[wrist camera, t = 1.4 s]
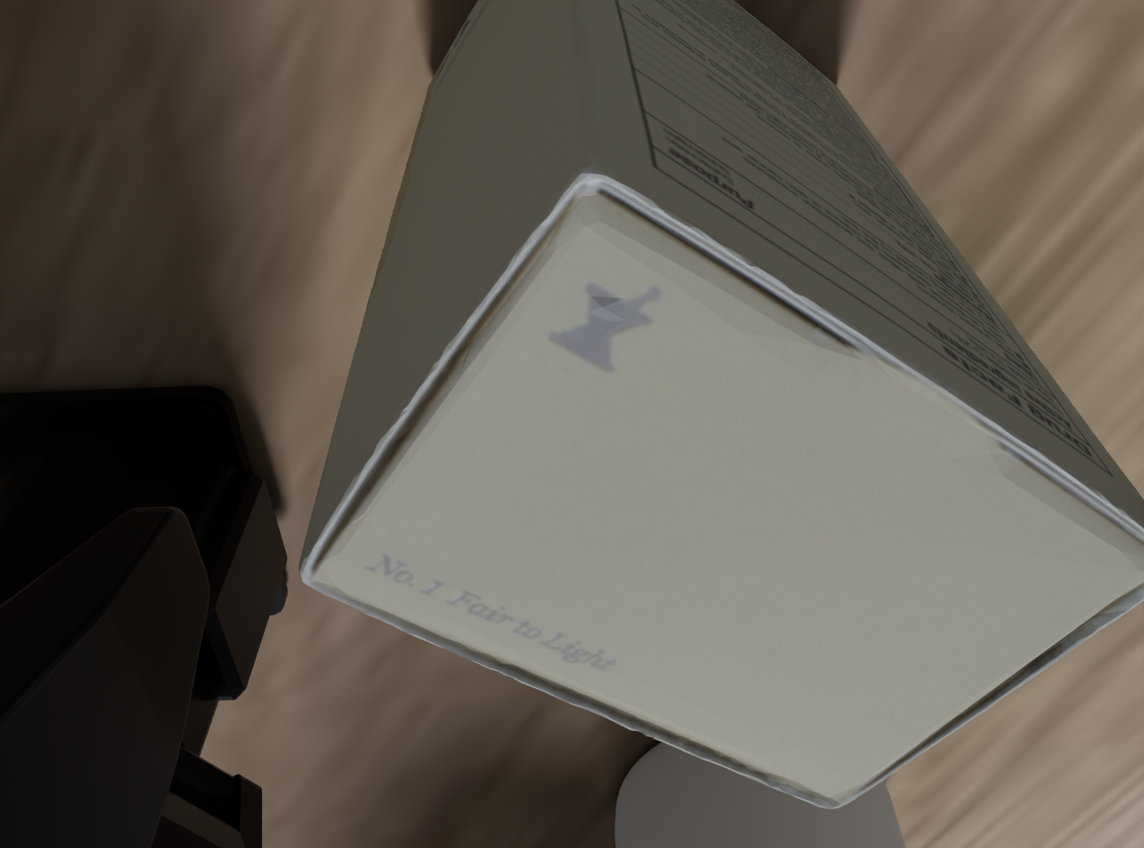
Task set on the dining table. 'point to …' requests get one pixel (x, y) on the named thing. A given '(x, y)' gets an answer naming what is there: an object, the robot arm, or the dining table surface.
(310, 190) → the dining table surface
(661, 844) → the pill bottle
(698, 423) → the skincare box
